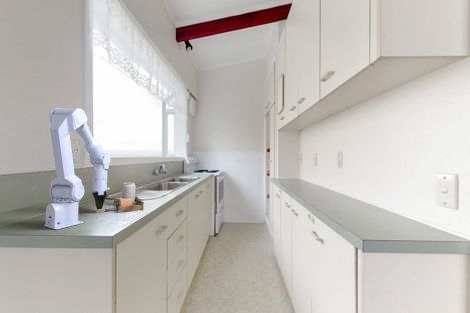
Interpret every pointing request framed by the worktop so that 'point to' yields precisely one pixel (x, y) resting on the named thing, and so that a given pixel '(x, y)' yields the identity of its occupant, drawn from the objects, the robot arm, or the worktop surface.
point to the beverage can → (128, 191)
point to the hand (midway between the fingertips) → (99, 208)
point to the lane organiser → (135, 206)
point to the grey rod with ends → (122, 203)
